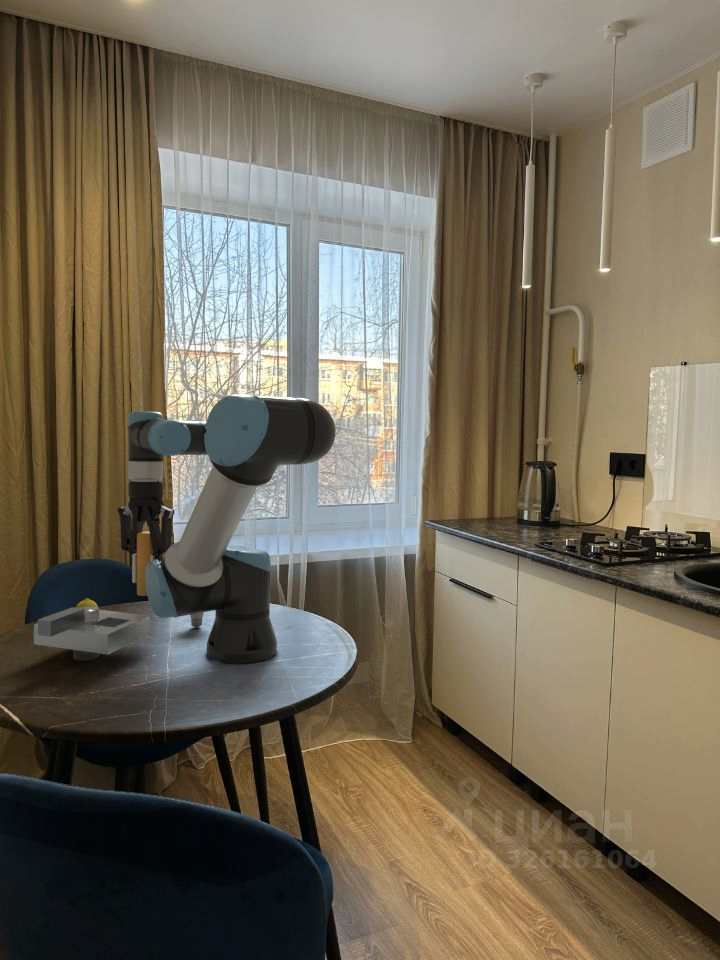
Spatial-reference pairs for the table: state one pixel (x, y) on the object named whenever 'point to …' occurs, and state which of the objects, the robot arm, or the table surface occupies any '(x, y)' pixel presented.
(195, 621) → the lightbulb
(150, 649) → the table surface
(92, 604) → the lemon
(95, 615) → the gray rectangular tray
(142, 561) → the pin
